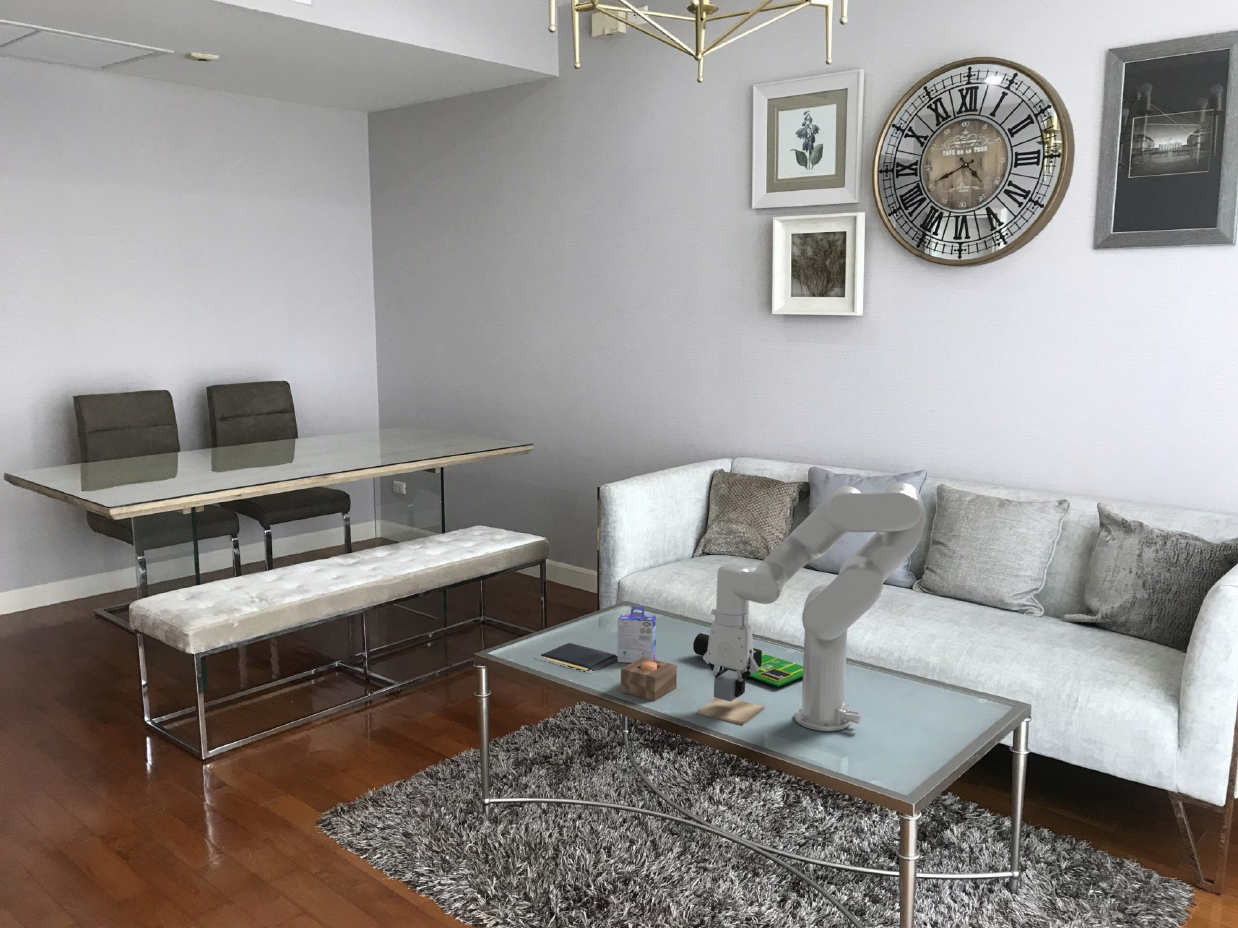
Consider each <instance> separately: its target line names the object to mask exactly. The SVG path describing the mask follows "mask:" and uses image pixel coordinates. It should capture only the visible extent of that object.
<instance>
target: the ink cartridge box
mask: <svg viewBox="0 0 1238 928" xmlns="http://www.w3.org/2000/svg"><path fill="white" fill-rule="evenodd" d="M637 610H639V611H641V612H637ZM634 611H636V612H634ZM617 656H618V661H617V662H616V663H627V664H628V663H629V664H631V663H633V662H635V661H637V660H639V659H641V658H642V657H644V658H649V659H653V660H657V615H655V614H654V615H652V614H645V607H644V606H631V610H630V614H629V613H628V614H627V613H621V615H620V616H619V617H618V618H617Z"/></svg>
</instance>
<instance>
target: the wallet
mask: <svg viewBox="0 0 1238 928" xmlns="http://www.w3.org/2000/svg"><path fill="white" fill-rule="evenodd" d="M540 655H541V656H542V657H544V658H547V660H551V661H553V662H557V663H561V664H563V665H567V666H568V667H570V668H577V669H576V670H575V671H577V670H585V671H586V670H587V671H589V670H592V671H596V670H599V671H600V670H603V669H605V668H607V667H609V666H611V665H614V664H616V663H618V662H617V661H618V655H616V654H614V653H610V652H608V651H602V650H599V649H595V648H592V647H588V646H584V645H579V644H575V643H572V642H568V643H565V644H562V645H560V646H558V647H555V648H553V649H551V650H549V651H546V652H544V653H541V654H540ZM549 658H550V659H549ZM570 668H569V669H570ZM602 668H603V669H602ZM596 672H597V671H596Z"/></svg>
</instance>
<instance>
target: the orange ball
mask: <svg viewBox="0 0 1238 928" xmlns="http://www.w3.org/2000/svg"><path fill="white" fill-rule="evenodd" d="M641 669H642V670H647V671H651V672H652V671H654V670H656V669H657V664H656V663H654V662H643V663H641Z"/></svg>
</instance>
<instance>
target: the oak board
mask: <svg viewBox="0 0 1238 928" xmlns="http://www.w3.org/2000/svg"><path fill="white" fill-rule="evenodd" d="M764 710H765V706H763V705H759V704H754V703H752V702H747V701H744V700H739V699H737V698H736V699H734V700H733V701H731V702H730V701H726V700H722V699H719V698H715V697H714V699H712V700H711V701H709V702H708V703H706V704H705V705H703V706H701V707H700V708H699V709H697V710H696V713H697V714H699V715H703V716H707V717H712V718H715V719H719V720H722V721H727V722H731V723H734V724H737V725H742V726H744V725H745V724H747V722H749V721H750V720H752V719H753V718H755V717H756V716H757V715H759V714H760V713H761V712H763V711H764Z"/></svg>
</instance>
